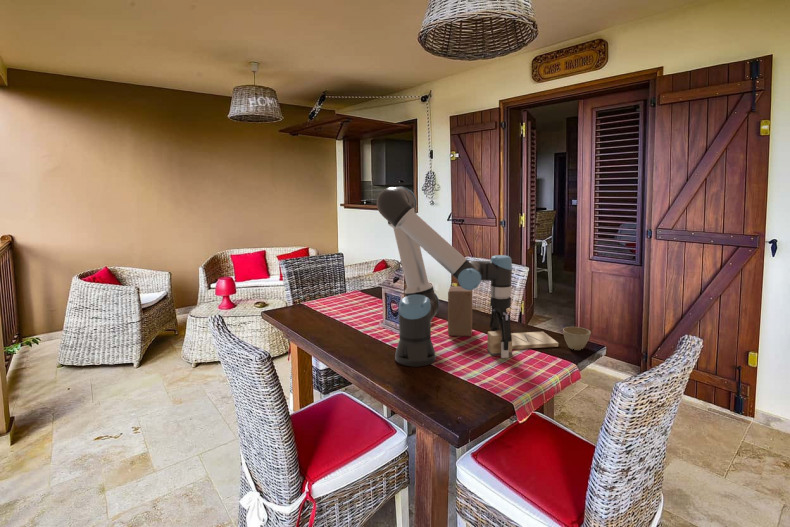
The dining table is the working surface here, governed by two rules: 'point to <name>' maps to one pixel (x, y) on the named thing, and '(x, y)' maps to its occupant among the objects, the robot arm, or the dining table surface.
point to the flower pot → (576, 337)
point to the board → (532, 340)
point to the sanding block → (496, 343)
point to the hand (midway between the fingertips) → (499, 352)
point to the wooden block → (459, 311)
